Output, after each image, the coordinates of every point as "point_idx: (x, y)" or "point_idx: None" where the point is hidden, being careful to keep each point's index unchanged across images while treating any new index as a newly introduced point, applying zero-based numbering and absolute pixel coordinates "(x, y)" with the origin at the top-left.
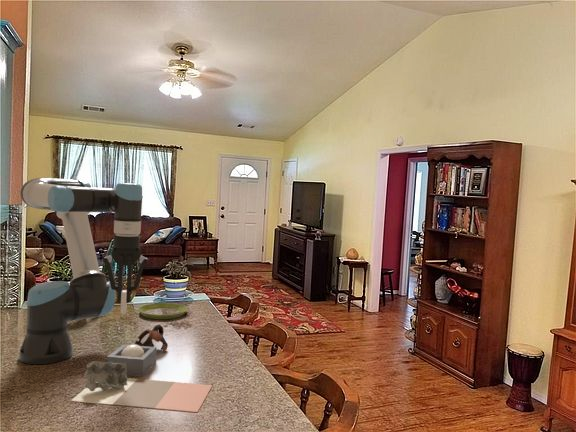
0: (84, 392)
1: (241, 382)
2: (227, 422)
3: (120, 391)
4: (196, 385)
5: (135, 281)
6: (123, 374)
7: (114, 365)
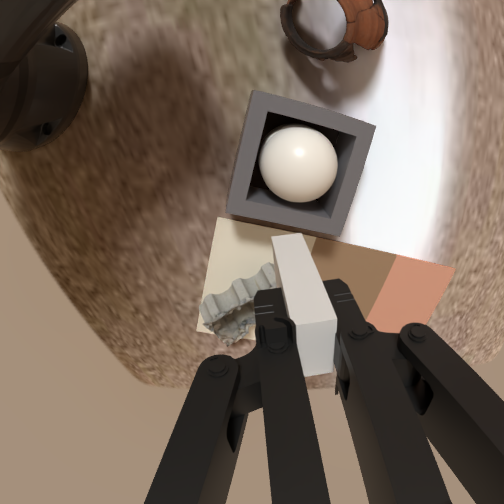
0: None
1: (497, 252)
2: None
3: None
4: (431, 270)
5: (421, 423)
6: None
7: None
